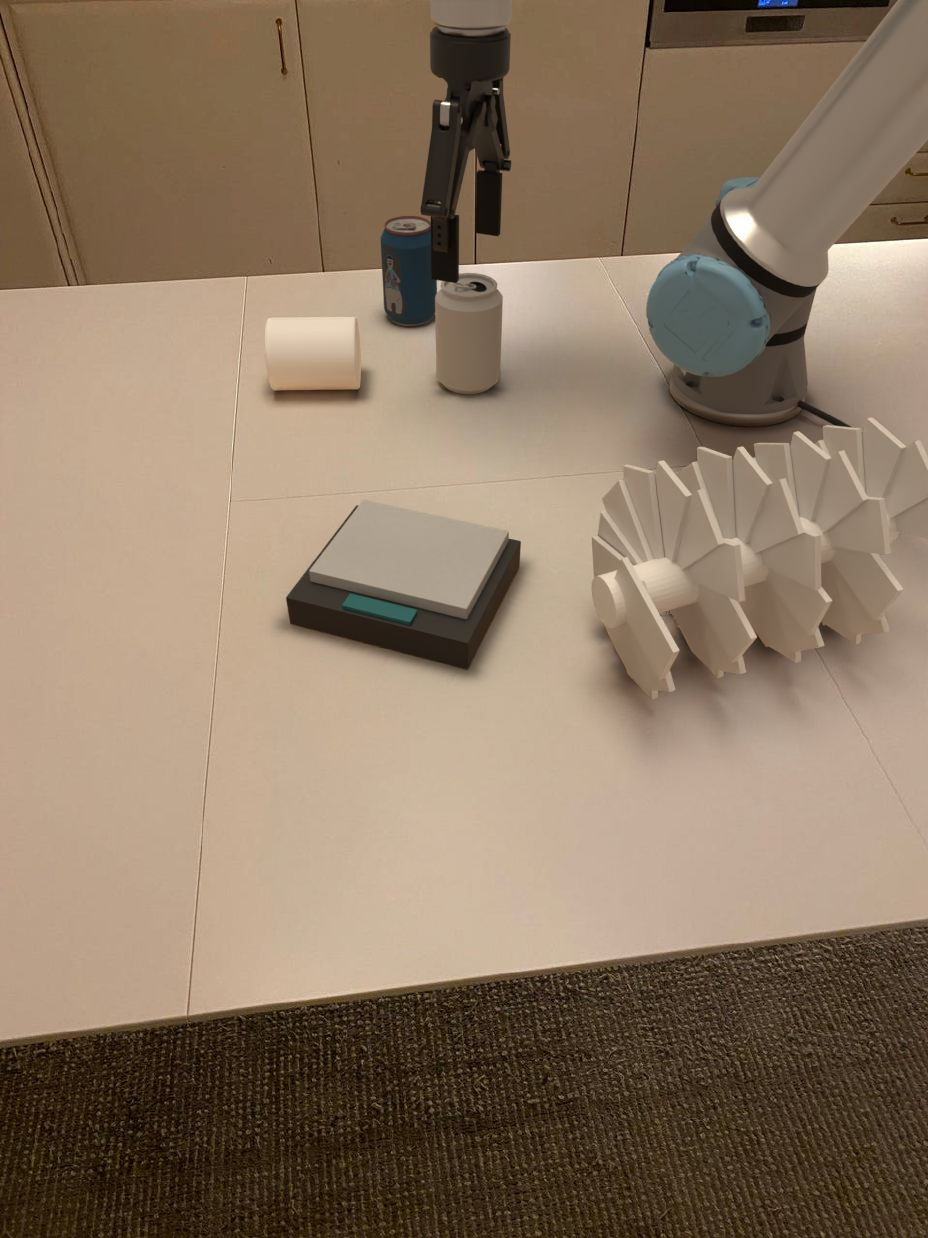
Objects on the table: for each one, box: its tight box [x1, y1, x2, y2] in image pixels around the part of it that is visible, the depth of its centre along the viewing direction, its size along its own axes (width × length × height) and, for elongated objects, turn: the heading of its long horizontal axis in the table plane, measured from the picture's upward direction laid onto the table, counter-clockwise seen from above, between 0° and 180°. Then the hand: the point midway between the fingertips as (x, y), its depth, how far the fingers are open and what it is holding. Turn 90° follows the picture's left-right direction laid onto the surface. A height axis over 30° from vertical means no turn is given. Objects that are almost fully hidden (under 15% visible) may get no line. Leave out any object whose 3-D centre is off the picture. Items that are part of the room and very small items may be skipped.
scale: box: [285, 499, 522, 670], centre depth 82 cm, size 16×14×4 cm
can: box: [434, 272, 504, 395], centre depth 108 cm, size 8×8×12 cm
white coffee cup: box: [263, 316, 362, 391], centre depth 110 cm, size 12×10×8 cm
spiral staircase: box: [590, 417, 928, 700], centre depth 74 cm, size 18×18×25 cm
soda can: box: [380, 215, 438, 327], centre depth 121 cm, size 7×7×12 cm
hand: (467, 255), depth 102 cm, fingers open, 13 cm apart
